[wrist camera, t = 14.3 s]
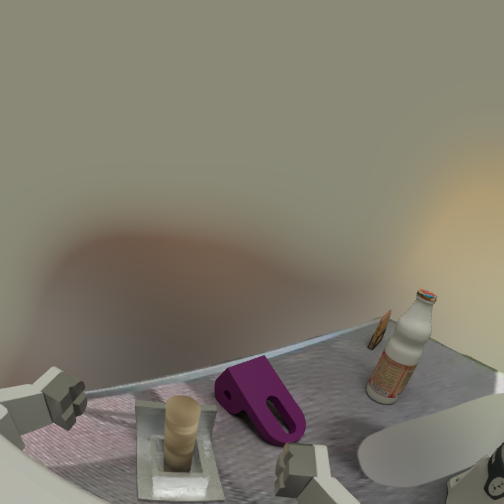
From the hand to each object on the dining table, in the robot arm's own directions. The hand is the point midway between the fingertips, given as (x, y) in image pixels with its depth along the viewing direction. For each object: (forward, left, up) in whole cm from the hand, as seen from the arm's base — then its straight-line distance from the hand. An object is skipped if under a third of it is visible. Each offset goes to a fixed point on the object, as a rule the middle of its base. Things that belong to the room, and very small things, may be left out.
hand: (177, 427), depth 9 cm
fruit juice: (-53, -30, -32) cm, 69 cm away
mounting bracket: (-20, -29, -32) cm, 47 cm away
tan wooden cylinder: (-3, -16, -31) cm, 35 cm away
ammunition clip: (-69, -54, -32) cm, 93 cm away
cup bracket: (-3, -16, -32) cm, 36 cm away
